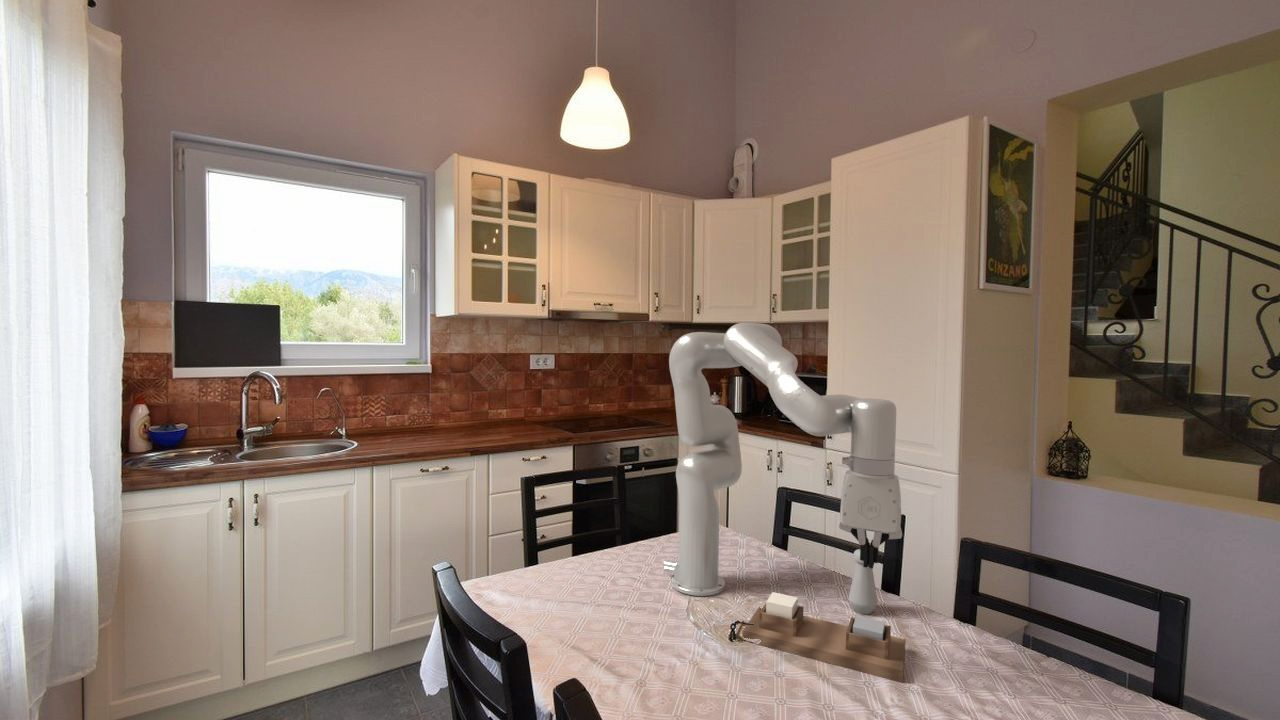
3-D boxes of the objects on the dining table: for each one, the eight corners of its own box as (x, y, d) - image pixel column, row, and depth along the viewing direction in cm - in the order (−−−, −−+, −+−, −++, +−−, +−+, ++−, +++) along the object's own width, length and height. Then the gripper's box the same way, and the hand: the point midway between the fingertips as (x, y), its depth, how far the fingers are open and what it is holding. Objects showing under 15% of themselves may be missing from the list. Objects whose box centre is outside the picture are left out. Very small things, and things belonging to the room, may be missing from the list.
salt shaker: (879, 618, 120) (881, 557, 119) (850, 615, 121) (852, 554, 121) (873, 605, 125) (875, 547, 125) (846, 603, 127) (848, 545, 126)
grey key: (852, 639, 103) (852, 626, 103) (855, 628, 108) (856, 615, 108) (882, 646, 101) (882, 633, 101) (884, 634, 105) (884, 621, 105)
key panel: (742, 640, 109) (743, 614, 109) (759, 615, 120) (760, 591, 120) (902, 682, 96) (902, 653, 96) (905, 649, 107) (906, 623, 107)
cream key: (765, 613, 111) (766, 601, 111) (772, 603, 115) (772, 592, 115) (791, 619, 108) (792, 607, 108) (797, 609, 113) (797, 597, 113)
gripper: (826, 465, 104) (823, 564, 104) (916, 475, 97) (913, 581, 98) (832, 458, 111) (829, 551, 111) (917, 467, 104) (914, 566, 104)
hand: (868, 565), depth 104 cm, fingers closed
